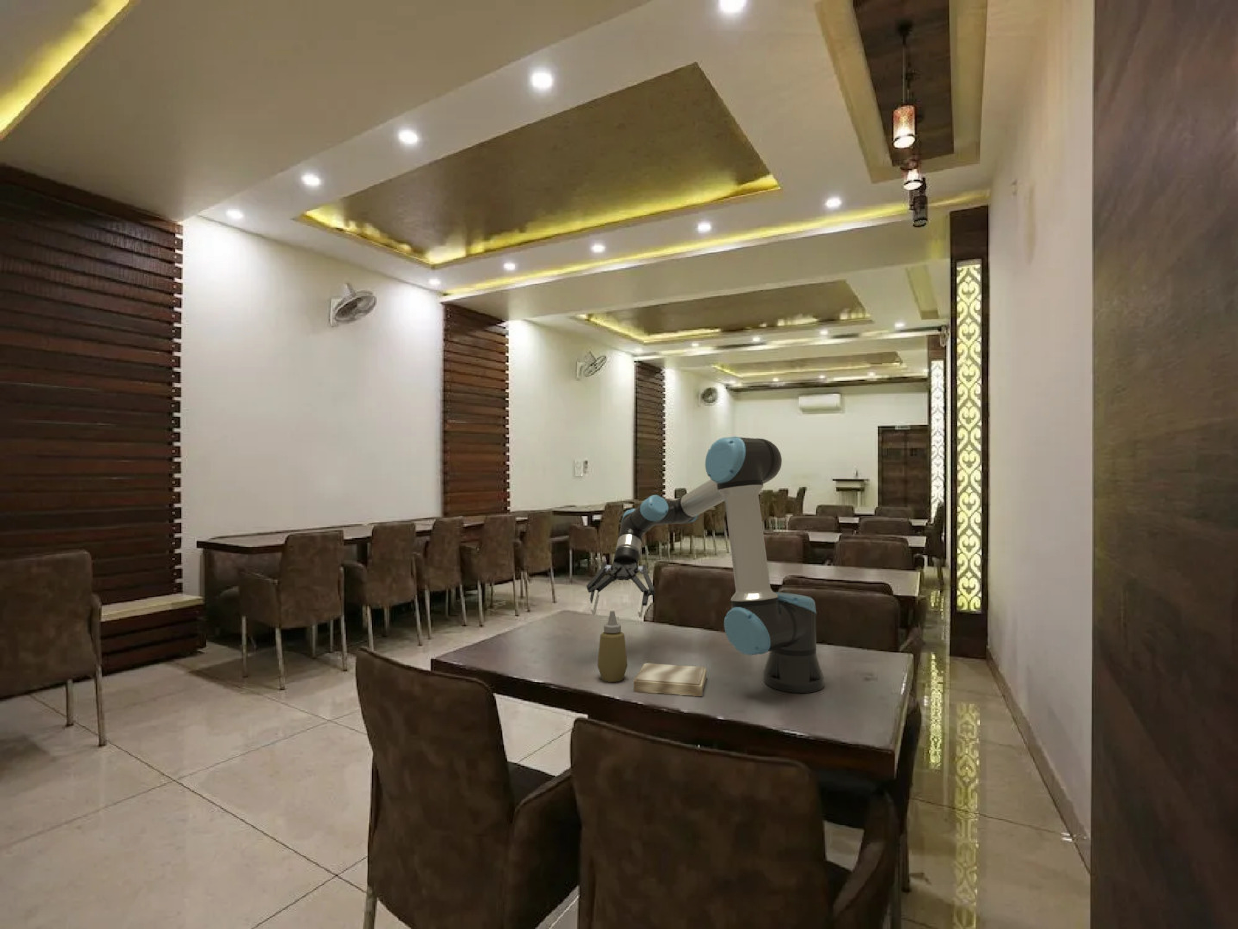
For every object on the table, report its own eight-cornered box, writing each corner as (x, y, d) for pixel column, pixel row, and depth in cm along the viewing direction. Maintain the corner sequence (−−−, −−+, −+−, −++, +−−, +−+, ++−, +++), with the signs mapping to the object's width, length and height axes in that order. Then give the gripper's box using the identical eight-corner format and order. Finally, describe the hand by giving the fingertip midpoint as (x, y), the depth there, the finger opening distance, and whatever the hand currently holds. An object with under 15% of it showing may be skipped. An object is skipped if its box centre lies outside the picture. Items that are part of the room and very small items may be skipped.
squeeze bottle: (601, 685, 152) (601, 615, 153) (594, 675, 160) (594, 609, 160) (631, 682, 154) (631, 613, 155) (622, 672, 162) (622, 607, 163)
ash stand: (706, 678, 157) (706, 666, 158) (701, 697, 144) (701, 684, 144) (644, 673, 161) (644, 662, 161) (633, 691, 148) (633, 679, 148)
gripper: (669, 561, 180) (661, 623, 165) (591, 559, 186) (576, 618, 171) (666, 546, 175) (658, 608, 160) (586, 544, 181) (571, 603, 166)
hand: (616, 613), depth 165 cm, fingers open, 13 cm apart
